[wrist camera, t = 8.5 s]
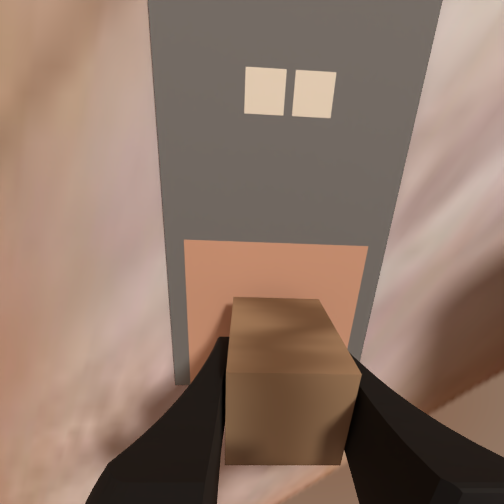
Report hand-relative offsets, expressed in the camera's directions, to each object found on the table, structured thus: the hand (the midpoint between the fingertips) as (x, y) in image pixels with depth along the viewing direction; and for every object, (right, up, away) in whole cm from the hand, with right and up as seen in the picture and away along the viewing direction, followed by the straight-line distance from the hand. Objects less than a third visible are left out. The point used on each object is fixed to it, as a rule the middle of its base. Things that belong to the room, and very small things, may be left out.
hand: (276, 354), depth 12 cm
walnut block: (0, +1, +1) cm, 1 cm away
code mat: (0, +7, +1) cm, 7 cm away
